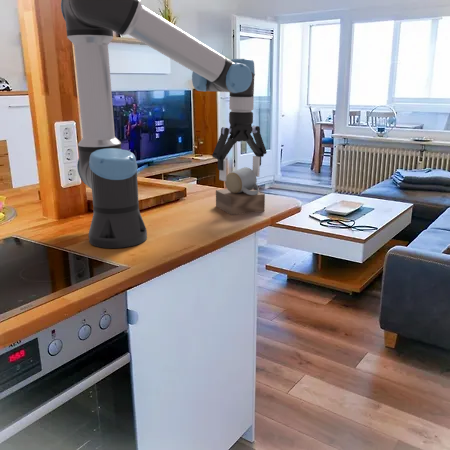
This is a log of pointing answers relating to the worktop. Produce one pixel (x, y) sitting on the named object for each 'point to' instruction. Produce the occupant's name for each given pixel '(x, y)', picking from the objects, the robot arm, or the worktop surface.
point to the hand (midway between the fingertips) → (239, 178)
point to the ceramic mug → (242, 181)
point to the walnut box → (239, 202)
